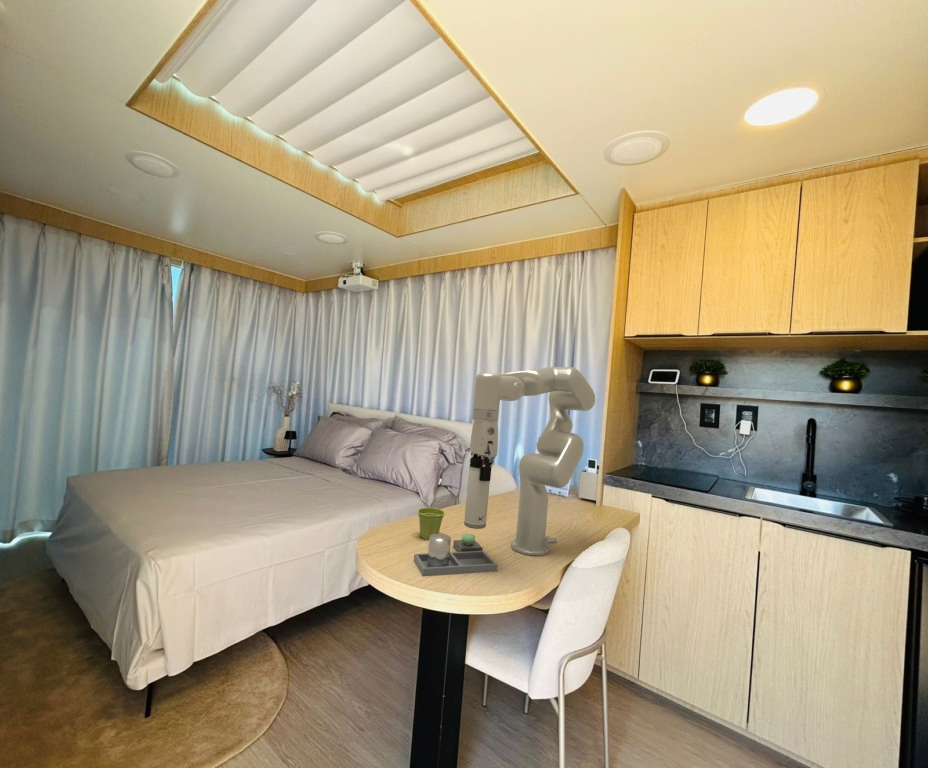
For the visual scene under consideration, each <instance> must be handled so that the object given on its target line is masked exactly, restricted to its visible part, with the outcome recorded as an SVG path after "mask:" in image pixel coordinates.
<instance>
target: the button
mask: <svg viewBox="0 0 928 768" xmlns="http://www.w3.org/2000/svg"><path fill="white" fill-rule="evenodd" d="M461 540H462V542H463V543H465V545H471V544H474V543H475V541H476V536H475V535H474V534H471V533H464V534H462V535H461Z"/></svg>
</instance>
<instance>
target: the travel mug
mask: <svg viewBox="0 0 928 768" xmlns="http://www.w3.org/2000/svg"><path fill="white" fill-rule="evenodd" d="M478 456H479V455H478ZM471 457H472V456H471ZM471 457H470V459H469V469H468V476H467V477H468V479H467V487H466V496H465V497H466V500H465V509H464V523H463V525H464V526H465V527H467V528H469V529H475V530H481V529H485V528H486V526H487V517H488V506H489V494H490V482H491V480H490V481H480V480H479V476H480V466H482V461H481V456H479V457H472V458H471ZM486 459H487V458H485V460H486Z"/></svg>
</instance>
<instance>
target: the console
mask: <svg viewBox="0 0 928 768" xmlns="http://www.w3.org/2000/svg"><path fill="white" fill-rule="evenodd" d="M452 548H453V549H454V550H455V552H469V551H484V550H483V549H484V548H483V546H482V545H480V544H479V542H477V541H476V540H475V543H474V544H471V545H465V543H463V542H462V539H455V540H454V539H453V544H452Z"/></svg>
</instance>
